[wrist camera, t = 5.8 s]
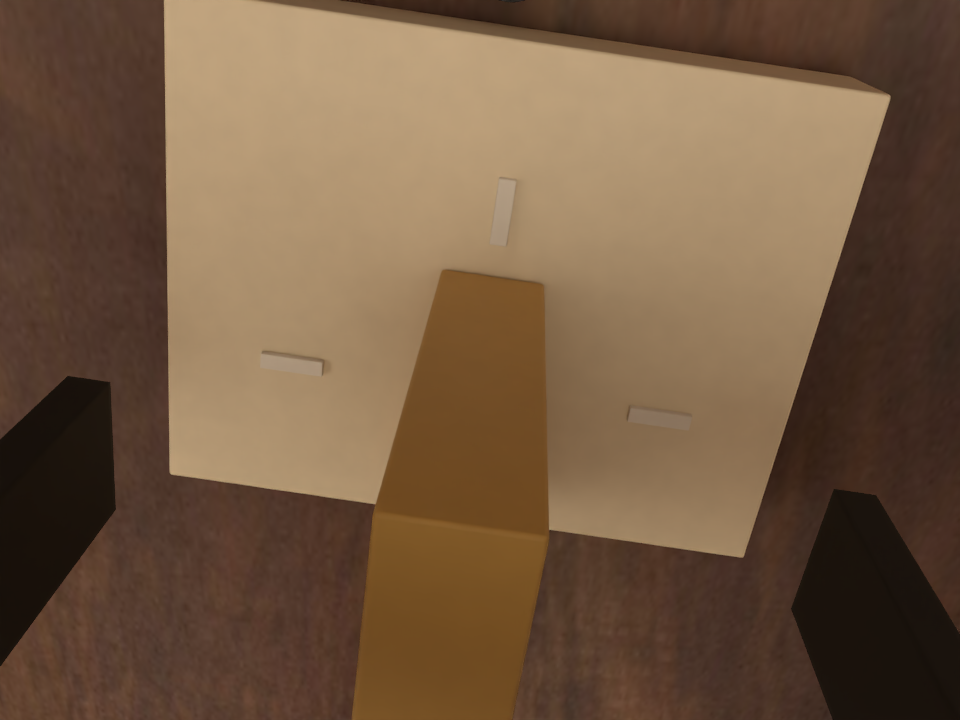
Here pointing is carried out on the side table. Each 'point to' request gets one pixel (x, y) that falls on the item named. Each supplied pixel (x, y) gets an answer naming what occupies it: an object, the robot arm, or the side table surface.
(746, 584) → the side table surface
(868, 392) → the side table surface
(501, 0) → the smartphone
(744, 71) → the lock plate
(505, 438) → the lock knob
